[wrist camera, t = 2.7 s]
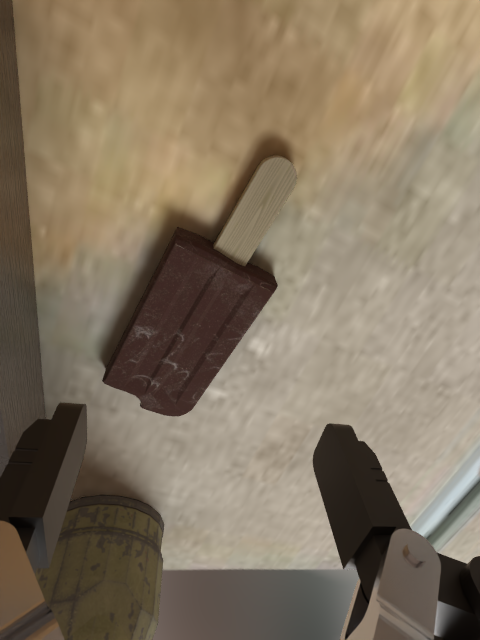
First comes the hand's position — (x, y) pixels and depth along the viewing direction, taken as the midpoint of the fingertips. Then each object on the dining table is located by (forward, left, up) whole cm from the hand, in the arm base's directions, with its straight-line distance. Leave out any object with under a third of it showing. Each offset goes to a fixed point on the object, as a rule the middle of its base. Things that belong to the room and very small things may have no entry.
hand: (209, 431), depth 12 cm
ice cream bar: (-1, 0, -9) cm, 9 cm away
